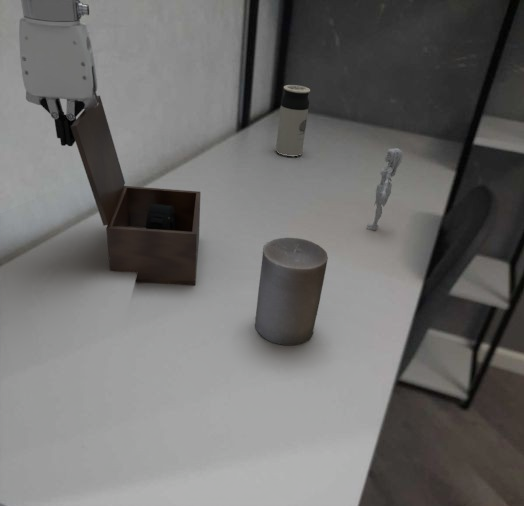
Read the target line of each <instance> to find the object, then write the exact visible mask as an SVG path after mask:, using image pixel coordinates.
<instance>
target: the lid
mask: <svg viewBox="0 0 524 506" xmlns="http://www.w3.org/2000/svg"><path fill="white" fill-rule="evenodd" d="M97 98H98V101H99V104H98V106H97V107H95V108H89V109H83V110H82V111H81V112H80V113H79V115H78V116H77V117H76V121H75V122H74V123H73V124H72V125H71V129H72V132H73V135H74V138H75V144H76V147H77V150H78V153H79V157H80V160H81V162H82V165H83V169H84V171H85V174H86V178H87V180H88V183H89V186H90V189H91V192H92V196H93V198H94V202H95V205H96V207H97V210H98V213H99V216H100V217H99V218H100V220H101V222H102V226H107V225H108V224H109V222H110V219H111V217H112V214H113V212H114V209H115V207H116V204H117V202H118V199H119V197H120V194H121V192H122V189H123V187H124V186H125V184H126V181H125V178H124V174H123V171H122V167H121V164H120V160H119V157H118V153H117V150H116V146H115V143H114V140H113V136H112V133H111V129H110V126H109V122H108V118H107V115H106V111H105V108H104V105H103V102H102V98H101V95H97Z"/></svg>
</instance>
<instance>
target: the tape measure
mask: <svg viewBox="0 0 524 506" xmlns="http://www.w3.org/2000/svg"><path fill="white" fill-rule="evenodd" d="M145 229H157V230H172V231H175V212H174V207H173V206H171V205H163V204H155V203H152V204H151V205H150V207H149V210H148V214H147V220H146V227H145Z"/></svg>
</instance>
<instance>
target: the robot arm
mask: <svg viewBox="0 0 524 506" xmlns="http://www.w3.org/2000/svg"><path fill="white" fill-rule="evenodd" d="M20 2H21V8H22V15H23V17H21V18H19V25H18V26H19V27H18V38H19V39H18V40H19V59H20V67H21V69H20V70H21V76H22V82H23V86H24V90H25V100H26V101H27V102H28V103H32V104H35V105H38V106H41V107H42V108H43V109H44V110H45V111H46V112H47V113H49V114H50V117H51V118H52V119H54V126H55V133H56V138H57V139H59V140H60V145H61V146H63V147H65V146H68V147H73V145H74V144H75V143H76V141H75V138H74V135H73V132H72V129H71V125H72V124H73V123H74V122H75V121H76V119H77V117H78V116H79V115H80V114H81V113H82V112H83V111H84V110H85V109H89V108H95V107H97V106H98V104H99V101H98V98H97V96H98V94H97V91H98V78H97V71H96V70H97V69H96V65H95V58H94V52H93V47H92V41H91V37H90V32H89V29H88V26H87V23H85V22H83V21H81V19H82V17H84V16H90V5H89V4H88V3H83V2H81V0H20ZM61 100H66V111H65V112H66V114H65V112H64V109H63V106H62V103H61Z"/></svg>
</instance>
